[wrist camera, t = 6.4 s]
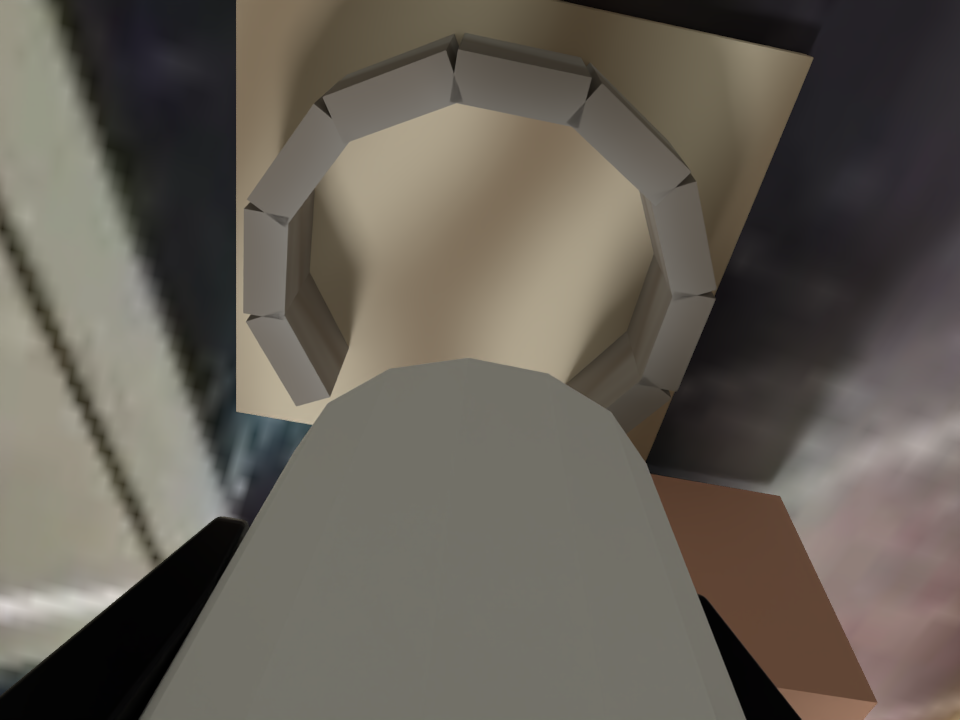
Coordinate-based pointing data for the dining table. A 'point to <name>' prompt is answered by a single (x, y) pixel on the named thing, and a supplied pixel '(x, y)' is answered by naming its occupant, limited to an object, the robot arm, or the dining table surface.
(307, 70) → the dock
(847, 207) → the dining table surface
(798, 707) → the block
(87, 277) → the dining table surface
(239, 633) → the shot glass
